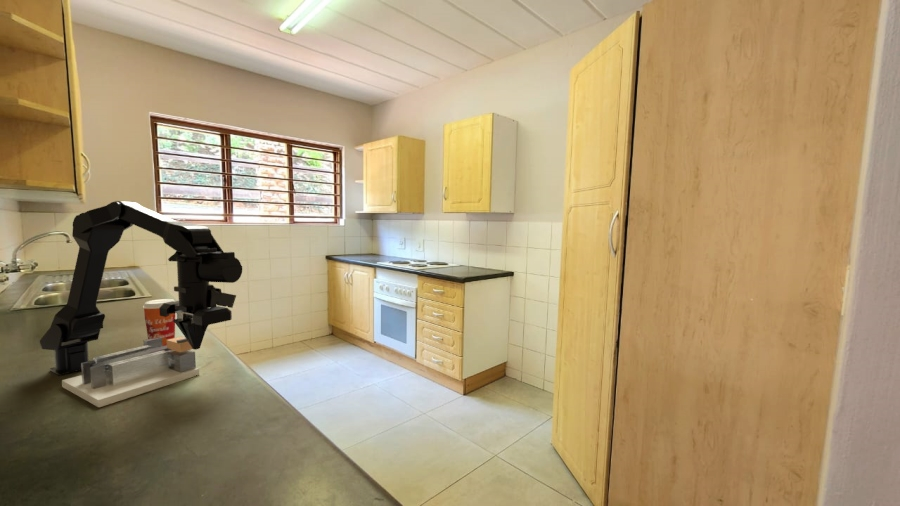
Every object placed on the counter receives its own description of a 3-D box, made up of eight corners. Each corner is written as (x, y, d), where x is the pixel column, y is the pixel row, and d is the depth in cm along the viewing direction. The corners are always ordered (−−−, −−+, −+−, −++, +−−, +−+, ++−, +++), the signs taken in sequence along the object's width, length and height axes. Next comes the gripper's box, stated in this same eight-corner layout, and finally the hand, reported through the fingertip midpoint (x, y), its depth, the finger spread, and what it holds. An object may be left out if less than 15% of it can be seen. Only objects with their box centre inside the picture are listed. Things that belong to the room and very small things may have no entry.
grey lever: (92, 368, 77) (91, 364, 77) (172, 346, 91) (172, 343, 91) (98, 370, 76) (97, 367, 76) (178, 348, 89) (178, 345, 89)
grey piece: (72, 378, 80) (70, 356, 79) (159, 355, 94) (158, 336, 94) (106, 395, 72) (104, 371, 71) (195, 368, 86) (194, 347, 86)
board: (62, 386, 79) (61, 380, 79) (159, 360, 95) (159, 355, 95) (98, 407, 70) (98, 400, 70) (199, 374, 86) (199, 368, 86)
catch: (166, 348, 86) (166, 337, 86) (181, 344, 88) (180, 334, 88) (180, 352, 83) (179, 341, 83) (194, 348, 85) (194, 337, 85)
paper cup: (141, 355, 99) (138, 304, 98) (148, 347, 105) (146, 299, 104) (176, 351, 102) (174, 302, 101) (181, 343, 109) (179, 297, 108)
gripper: (253, 280, 84) (255, 345, 85) (208, 274, 93) (210, 334, 94) (201, 286, 74) (204, 360, 75) (156, 280, 83) (160, 346, 84)
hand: (196, 348), depth 82 cm, fingers closed
